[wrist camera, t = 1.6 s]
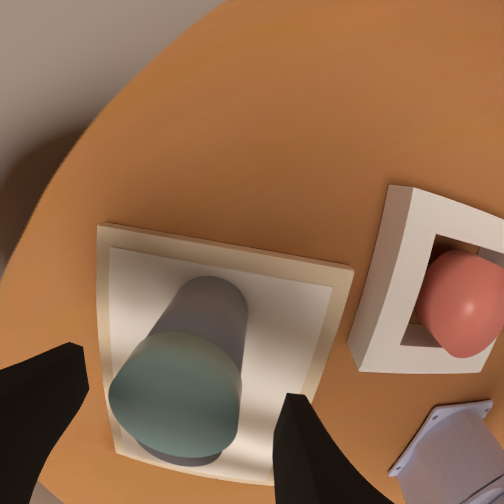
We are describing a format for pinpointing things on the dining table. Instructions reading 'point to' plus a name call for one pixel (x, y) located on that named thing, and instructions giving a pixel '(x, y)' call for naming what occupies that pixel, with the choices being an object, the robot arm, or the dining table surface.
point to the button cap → (462, 302)
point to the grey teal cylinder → (187, 373)
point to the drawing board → (257, 334)
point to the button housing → (414, 282)
